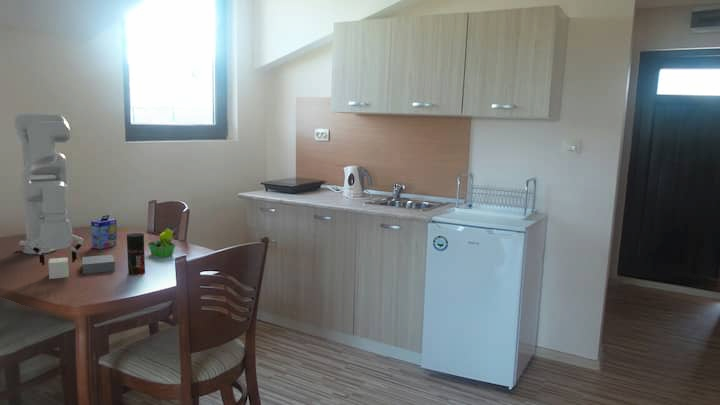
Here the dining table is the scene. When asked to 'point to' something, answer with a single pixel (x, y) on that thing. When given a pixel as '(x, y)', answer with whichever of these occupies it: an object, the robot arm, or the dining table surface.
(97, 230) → the ink cartridge box
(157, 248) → the green potted plant
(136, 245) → the deodorant
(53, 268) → the cream cube
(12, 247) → the dining table surface
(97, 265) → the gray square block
